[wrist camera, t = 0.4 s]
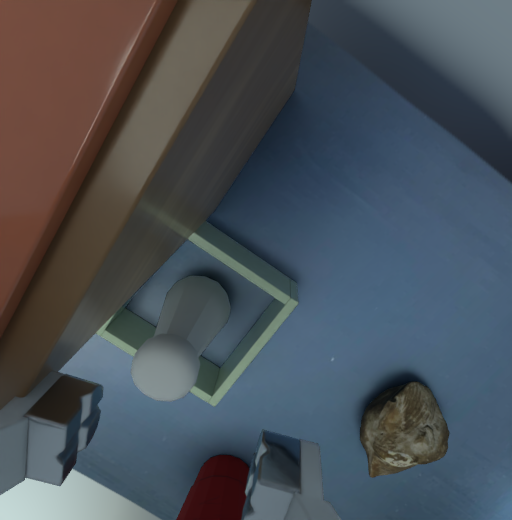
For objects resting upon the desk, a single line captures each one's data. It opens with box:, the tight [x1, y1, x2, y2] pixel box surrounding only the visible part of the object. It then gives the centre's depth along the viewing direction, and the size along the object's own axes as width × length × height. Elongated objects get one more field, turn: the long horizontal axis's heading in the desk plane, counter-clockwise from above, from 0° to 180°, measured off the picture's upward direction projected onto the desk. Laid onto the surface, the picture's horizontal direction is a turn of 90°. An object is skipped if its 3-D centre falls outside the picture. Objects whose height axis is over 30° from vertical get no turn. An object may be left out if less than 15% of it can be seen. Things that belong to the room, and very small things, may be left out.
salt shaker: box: [131, 275, 231, 401], centre depth 30 cm, size 6×6×13 cm
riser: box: [0, 0, 312, 410], centre depth 19 cm, size 12×12×26 cm
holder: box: [96, 221, 299, 407], centre depth 34 cm, size 13×13×4 cm
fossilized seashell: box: [360, 381, 449, 478], centre depth 36 cm, size 8×7×10 cm
